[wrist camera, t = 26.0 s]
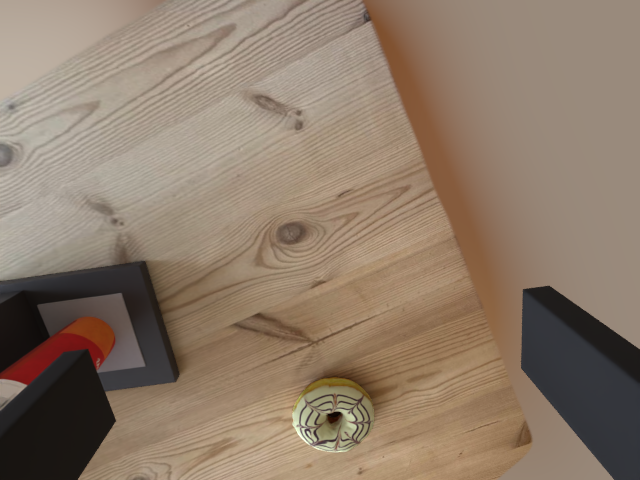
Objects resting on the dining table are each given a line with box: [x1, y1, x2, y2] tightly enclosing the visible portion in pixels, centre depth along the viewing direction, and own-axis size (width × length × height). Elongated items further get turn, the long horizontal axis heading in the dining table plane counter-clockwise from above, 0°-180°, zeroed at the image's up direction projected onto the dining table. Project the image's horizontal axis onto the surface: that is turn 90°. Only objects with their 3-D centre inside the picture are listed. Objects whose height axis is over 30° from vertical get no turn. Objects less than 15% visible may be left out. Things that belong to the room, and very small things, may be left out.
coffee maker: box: [0, 261, 180, 391], centre depth 33 cm, size 18×16×29 cm
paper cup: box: [0, 317, 115, 410], centre depth 38 cm, size 8×8×14 cm
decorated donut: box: [292, 377, 374, 452], centre depth 49 cm, size 10×11×4 cm
